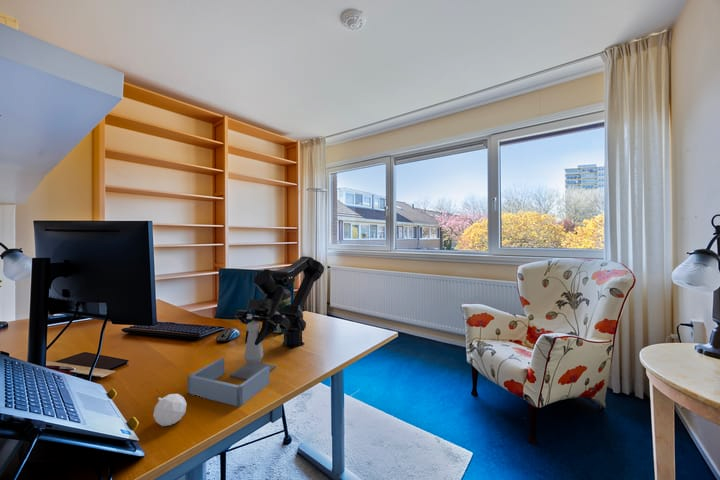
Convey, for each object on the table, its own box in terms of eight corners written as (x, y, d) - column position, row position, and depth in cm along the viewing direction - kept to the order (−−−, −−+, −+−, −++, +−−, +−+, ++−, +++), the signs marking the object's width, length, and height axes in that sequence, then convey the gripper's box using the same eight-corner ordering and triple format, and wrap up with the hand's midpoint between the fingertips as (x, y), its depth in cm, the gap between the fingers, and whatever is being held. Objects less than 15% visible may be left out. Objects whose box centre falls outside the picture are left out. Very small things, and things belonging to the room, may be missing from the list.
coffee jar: (279, 326, 139) (279, 287, 138) (294, 328, 137) (293, 288, 136) (266, 333, 130) (266, 291, 129) (282, 335, 127) (282, 292, 127)
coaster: (251, 362, 101) (251, 361, 101) (275, 367, 98) (275, 365, 98) (229, 376, 92) (229, 374, 92) (256, 382, 88) (256, 380, 88)
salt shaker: (243, 367, 91) (242, 326, 91) (245, 359, 97) (244, 320, 96) (263, 365, 93) (262, 324, 92) (263, 357, 98) (263, 319, 98)
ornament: (170, 434, 66) (146, 411, 64) (164, 430, 70) (142, 409, 69) (195, 407, 70) (174, 386, 69) (189, 406, 75) (168, 385, 74)
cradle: (222, 373, 94) (221, 357, 94) (269, 383, 88) (269, 366, 88) (187, 393, 82) (187, 376, 82) (239, 406, 76) (239, 388, 76)
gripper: (238, 286, 100) (213, 329, 90) (284, 290, 94) (263, 336, 84) (253, 303, 108) (232, 344, 98) (297, 308, 102) (280, 352, 92)
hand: (250, 344), depth 93 cm, fingers closed on salt shaker, 3 cm apart
